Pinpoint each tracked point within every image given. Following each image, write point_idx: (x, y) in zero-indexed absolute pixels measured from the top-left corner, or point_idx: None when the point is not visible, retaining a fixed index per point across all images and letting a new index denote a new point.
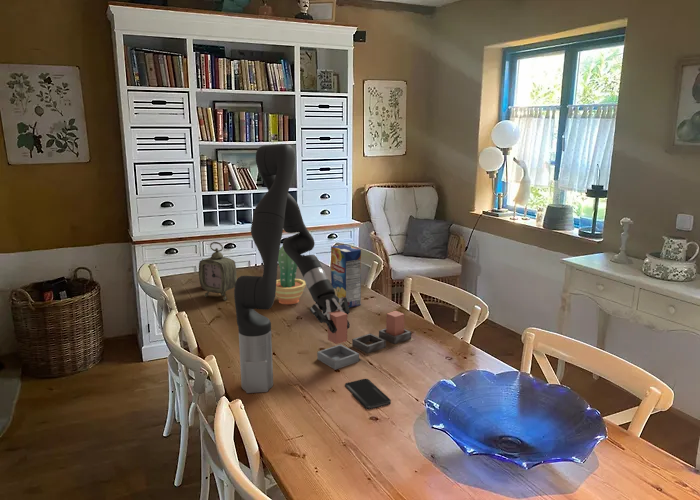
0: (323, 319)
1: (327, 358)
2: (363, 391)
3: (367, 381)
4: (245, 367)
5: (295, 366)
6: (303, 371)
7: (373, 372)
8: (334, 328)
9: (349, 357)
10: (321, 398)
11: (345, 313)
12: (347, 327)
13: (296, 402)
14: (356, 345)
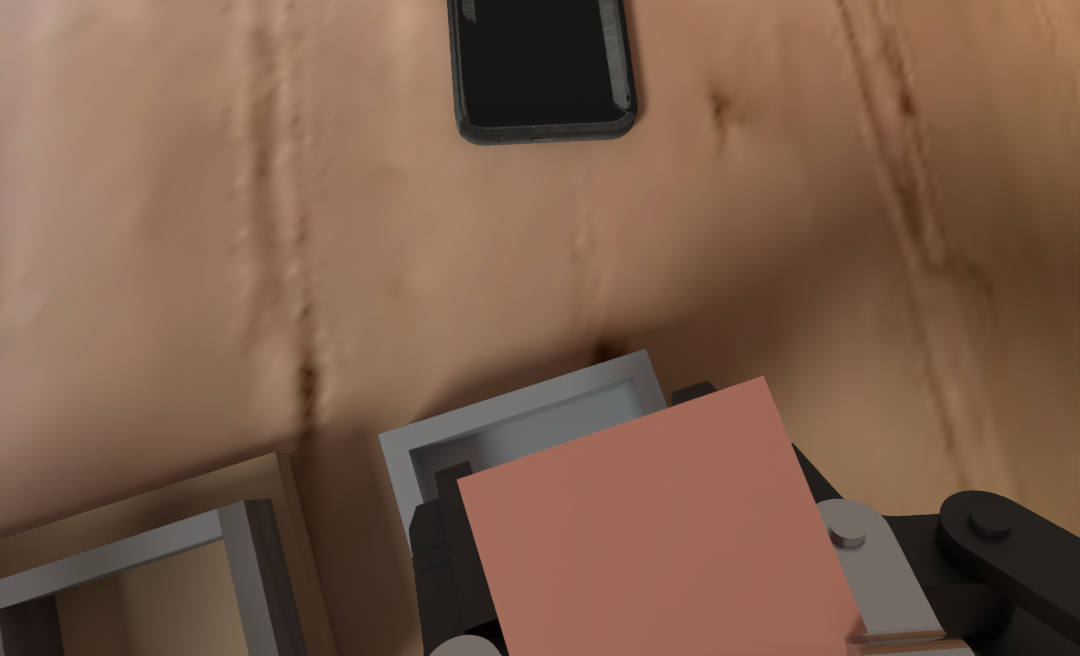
0: (982, 502)
1: None
2: (550, 2)
3: (473, 102)
4: None
5: None
6: (865, 443)
7: (361, 238)
8: None
9: (491, 398)
10: (811, 50)
11: (484, 535)
12: (472, 469)
13: (961, 62)
14: None
